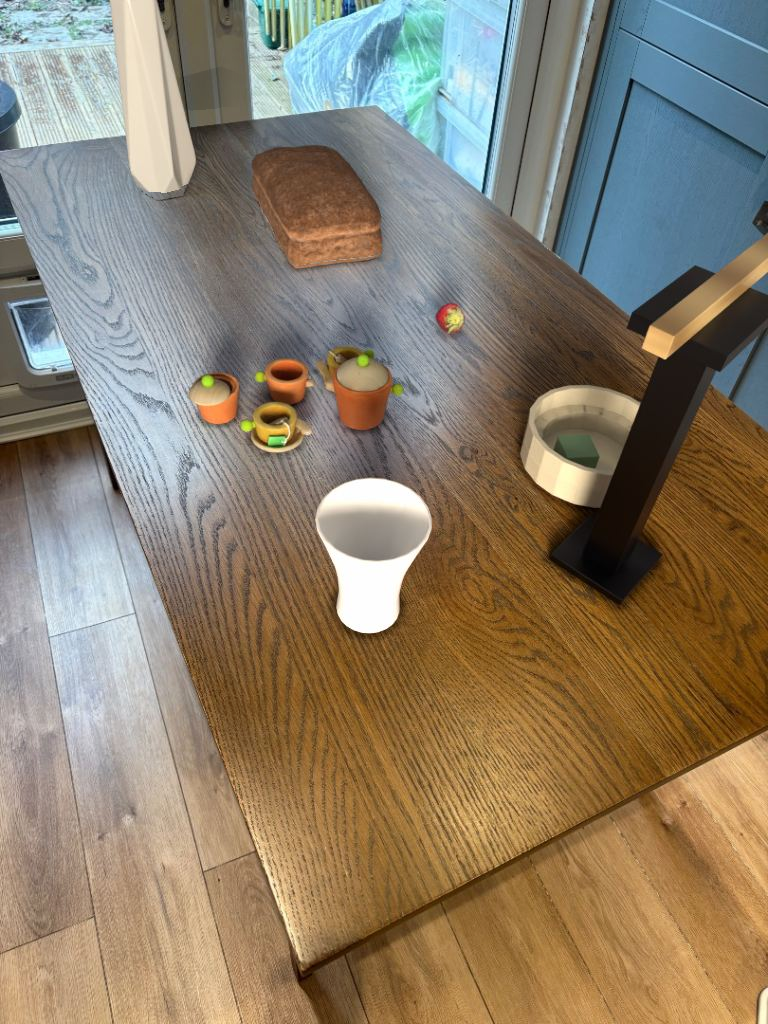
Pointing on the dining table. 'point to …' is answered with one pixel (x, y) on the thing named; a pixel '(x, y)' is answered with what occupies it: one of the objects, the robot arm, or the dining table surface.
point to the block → (577, 449)
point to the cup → (372, 546)
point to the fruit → (450, 318)
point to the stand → (656, 438)
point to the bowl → (577, 415)
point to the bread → (316, 206)
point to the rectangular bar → (707, 301)
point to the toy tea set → (301, 396)
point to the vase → (150, 99)
